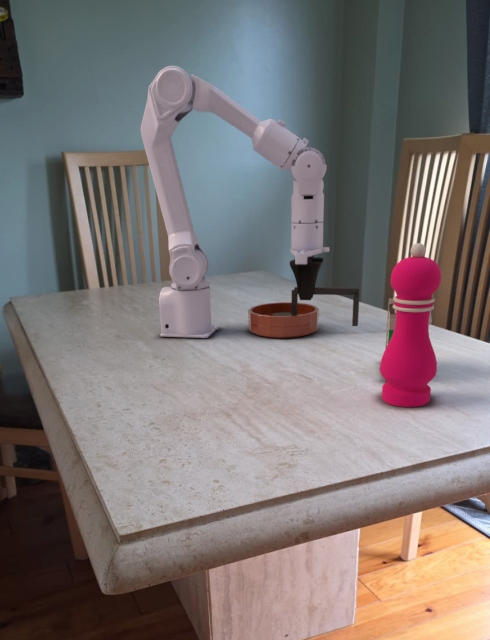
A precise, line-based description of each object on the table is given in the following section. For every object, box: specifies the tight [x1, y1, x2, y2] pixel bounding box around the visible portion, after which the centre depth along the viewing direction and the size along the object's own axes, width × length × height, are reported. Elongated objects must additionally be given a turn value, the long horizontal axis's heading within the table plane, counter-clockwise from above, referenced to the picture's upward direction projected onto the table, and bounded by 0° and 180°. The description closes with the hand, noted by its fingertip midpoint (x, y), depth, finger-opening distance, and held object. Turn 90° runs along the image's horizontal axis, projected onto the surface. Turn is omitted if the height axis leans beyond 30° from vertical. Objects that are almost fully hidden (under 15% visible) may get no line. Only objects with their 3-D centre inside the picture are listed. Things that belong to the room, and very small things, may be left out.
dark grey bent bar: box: [272, 286, 361, 327], centre depth 117 cm, size 16×5×7 cm, turn 76°
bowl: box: [247, 301, 319, 339], centre depth 119 cm, size 13×13×4 cm
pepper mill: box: [379, 242, 442, 408], centre depth 79 cm, size 7×7×20 cm
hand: (306, 298), depth 117 cm, fingers closed on dark grey bent bar
